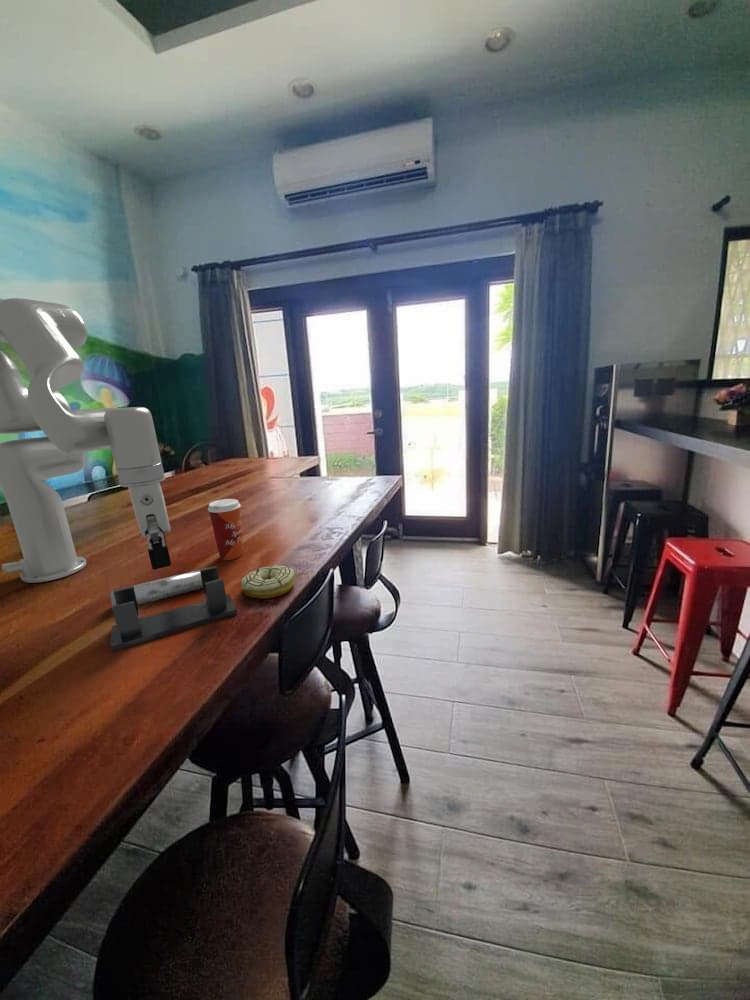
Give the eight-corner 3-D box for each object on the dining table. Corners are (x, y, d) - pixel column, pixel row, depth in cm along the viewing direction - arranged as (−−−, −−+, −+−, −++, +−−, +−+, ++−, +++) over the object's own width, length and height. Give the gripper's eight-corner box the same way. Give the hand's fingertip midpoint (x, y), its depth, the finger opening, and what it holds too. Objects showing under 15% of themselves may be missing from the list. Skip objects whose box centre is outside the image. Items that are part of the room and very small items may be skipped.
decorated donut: (253, 578, 90) (251, 562, 89) (300, 577, 89) (299, 561, 88) (235, 602, 80) (232, 584, 79) (288, 601, 79) (286, 584, 78)
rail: (114, 613, 77) (109, 593, 77) (115, 608, 81) (111, 589, 80) (213, 587, 86) (209, 569, 85) (211, 583, 89) (207, 566, 89)
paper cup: (237, 562, 98) (229, 507, 94) (209, 561, 100) (199, 506, 96) (253, 550, 105) (246, 498, 102) (226, 548, 107) (218, 497, 103)
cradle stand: (111, 652, 66) (101, 611, 64) (113, 631, 72) (103, 593, 70) (237, 614, 75) (231, 577, 73) (229, 598, 81) (224, 564, 79)
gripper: (166, 478, 71) (185, 568, 75) (160, 466, 85) (177, 542, 90) (116, 485, 67) (139, 580, 72) (119, 471, 82) (138, 550, 86)
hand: (160, 559), depth 81 cm, fingers open, 9 cm apart
